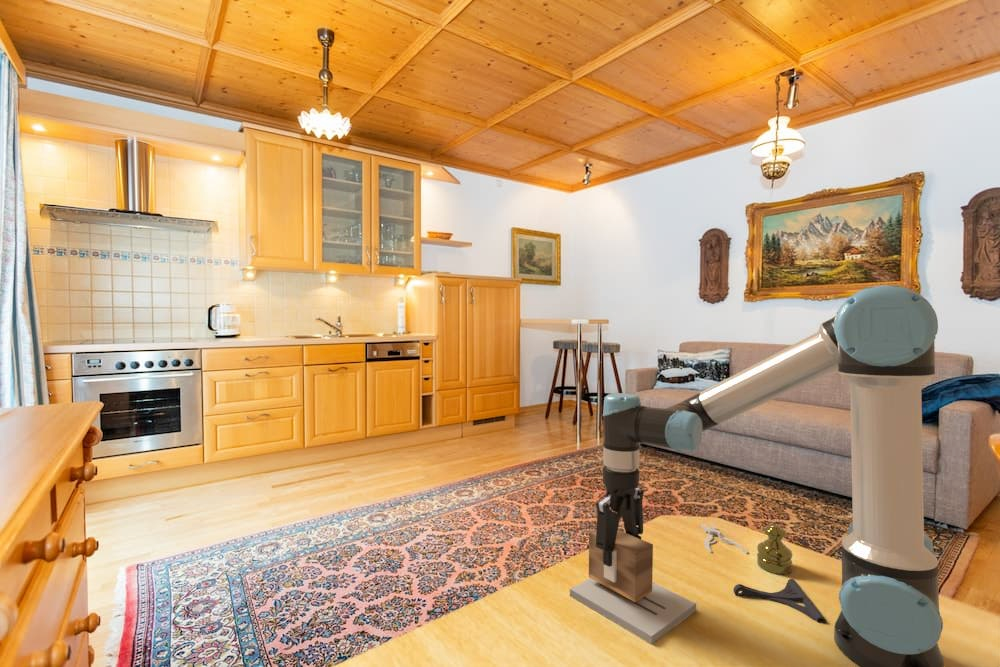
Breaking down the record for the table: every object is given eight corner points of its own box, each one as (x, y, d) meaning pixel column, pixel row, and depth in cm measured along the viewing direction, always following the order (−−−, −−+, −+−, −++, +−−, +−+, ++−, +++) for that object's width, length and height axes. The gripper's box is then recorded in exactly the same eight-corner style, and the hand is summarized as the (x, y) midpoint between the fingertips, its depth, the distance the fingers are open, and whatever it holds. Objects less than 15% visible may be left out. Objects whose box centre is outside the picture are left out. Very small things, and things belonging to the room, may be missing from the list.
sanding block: (652, 591, 101) (652, 544, 100) (635, 602, 97) (635, 553, 97) (605, 568, 110) (606, 524, 110) (588, 577, 106) (589, 532, 106)
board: (696, 610, 99) (696, 603, 99) (651, 644, 88) (651, 635, 88) (615, 570, 114) (615, 564, 114) (569, 595, 104) (569, 588, 104)
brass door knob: (753, 567, 116) (754, 526, 115) (761, 556, 121) (761, 517, 121) (788, 578, 111) (789, 535, 110) (795, 566, 116) (796, 525, 116)
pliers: (709, 548, 123) (689, 523, 138) (709, 554, 123) (689, 528, 138) (749, 549, 122) (725, 523, 137) (749, 555, 122) (724, 529, 137)
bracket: (725, 579, 112) (725, 567, 112) (795, 586, 109) (795, 573, 109) (744, 618, 98) (744, 604, 97) (826, 626, 95) (826, 612, 95)
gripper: (632, 454, 111) (631, 553, 112) (577, 471, 99) (576, 581, 100) (661, 462, 106) (660, 566, 106) (607, 481, 94) (606, 598, 94)
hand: (619, 573), depth 103 cm, fingers closed on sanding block, 6 cm apart
